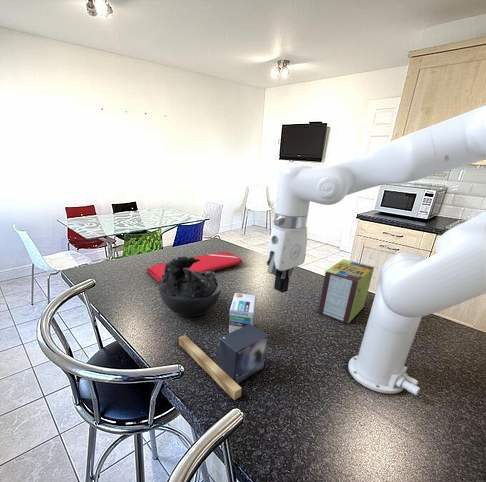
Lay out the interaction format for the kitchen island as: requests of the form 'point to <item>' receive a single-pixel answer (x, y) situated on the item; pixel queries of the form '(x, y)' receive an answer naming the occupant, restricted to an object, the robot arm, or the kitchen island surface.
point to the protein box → (345, 290)
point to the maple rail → (211, 368)
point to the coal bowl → (188, 288)
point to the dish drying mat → (201, 264)
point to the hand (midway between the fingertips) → (280, 290)
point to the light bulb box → (242, 311)
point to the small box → (242, 352)
